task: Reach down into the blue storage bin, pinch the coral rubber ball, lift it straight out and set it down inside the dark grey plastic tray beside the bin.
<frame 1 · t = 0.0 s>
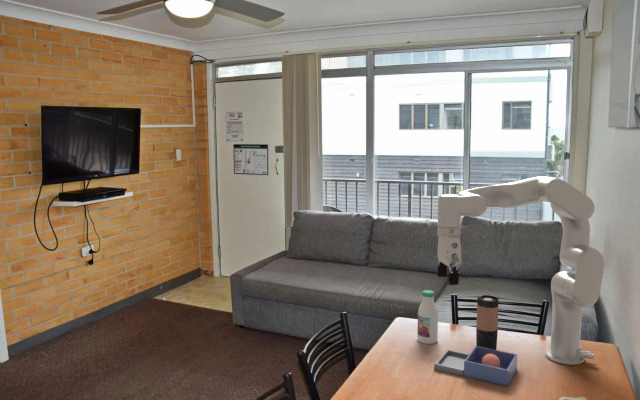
hand: (447, 280, 176), 31 cm above the table, tool pointing down, fingers open, 9 cm apart
milk bottle: (427, 341, 203), on the table
ball: (490, 362, 175), point 4 cm above the table, touching blue storage bin
travel mug: (486, 350, 194), on the table
tray: (454, 364, 181), on the table
blue storage bin: (490, 372, 175), on the table
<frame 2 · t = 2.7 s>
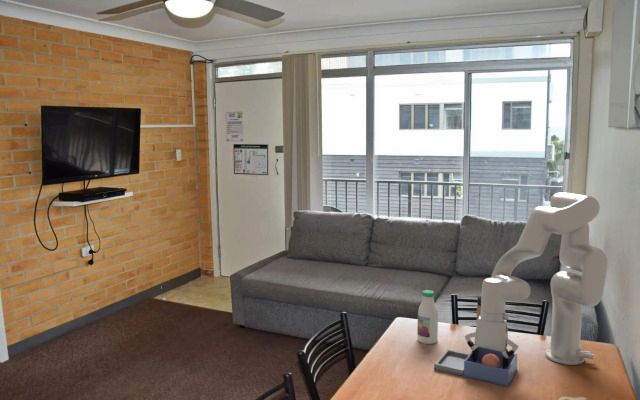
hand: (489, 364, 174), 3 cm above the table, tool pointing down, fingers open, 9 cm apart
nothing on the table moved.
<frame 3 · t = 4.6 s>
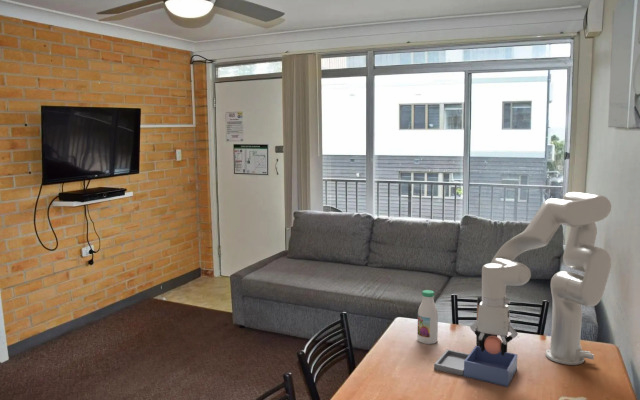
hand: (493, 351, 174), 8 cm above the table, tool pointing down, fingers closed on ball, 5 cm apart
ball: (493, 345, 174), point 10 cm above the table, touching gripper
everything else where it was.
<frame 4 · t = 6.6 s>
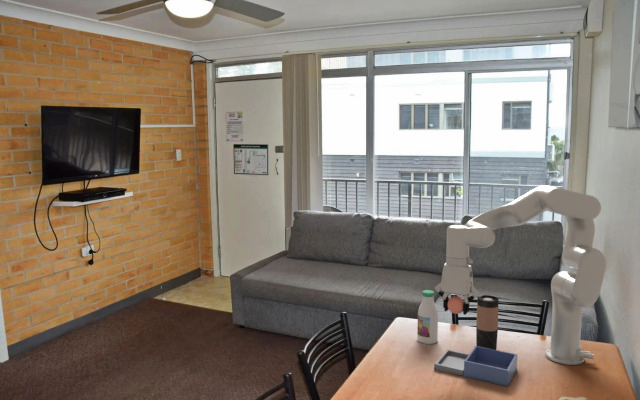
hand: (456, 311, 179), 20 cm above the table, tool pointing down, fingers closed on ball, 5 cm apart
ball: (456, 304, 179), point 22 cm above the table, touching gripper
everything else where it was.
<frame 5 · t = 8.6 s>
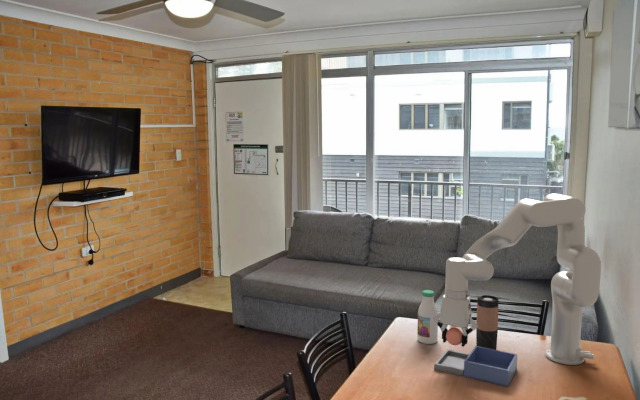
hand: (454, 342, 180), 8 cm above the table, tool pointing down, fingers closed on ball, 5 cm apart
ball: (454, 336, 180), point 10 cm above the table, touching gripper
everything else where it was.
when the fingers open (3 cm above the table, at t = 10.1 s): ball drops 2 cm, resting on tray.
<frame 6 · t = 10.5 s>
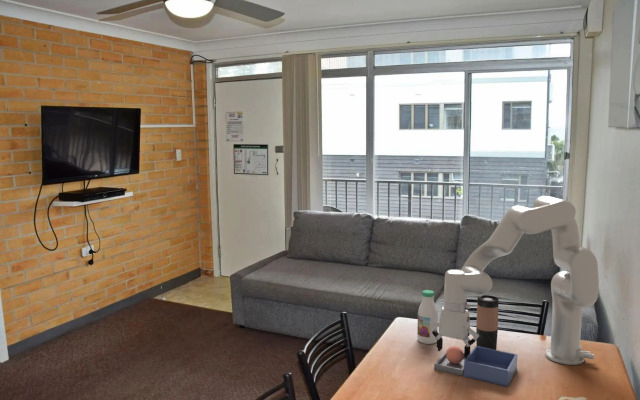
hand: (453, 352, 181), 4 cm above the table, tool pointing down, fingers open, 9 cm apart
ball: (454, 354, 181), point 4 cm above the table, touching tray
everything else where it was.
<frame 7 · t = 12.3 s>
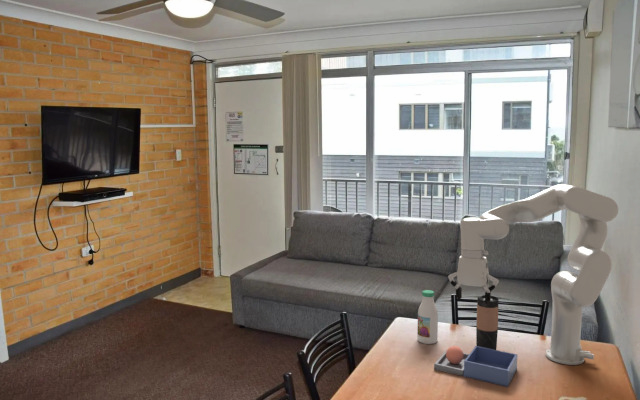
hand: (473, 300, 181), 22 cm above the table, tool pointing down, fingers open, 9 cm apart
nothing on the table moved.
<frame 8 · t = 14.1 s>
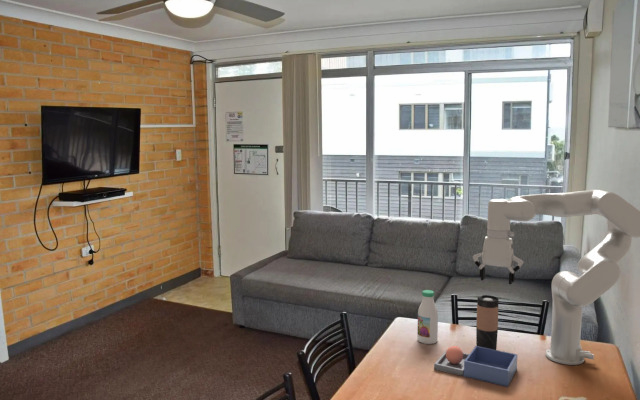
hand: (496, 281, 184), 28 cm above the table, tool pointing down, fingers open, 9 cm apart
nothing on the table moved.
at the end: ball inside the target area on the tray (0.1 cm from its centre), point 3.6 cm above the tray's base; the gripper is holding nothing; ball moved 12.5 cm from its start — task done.
